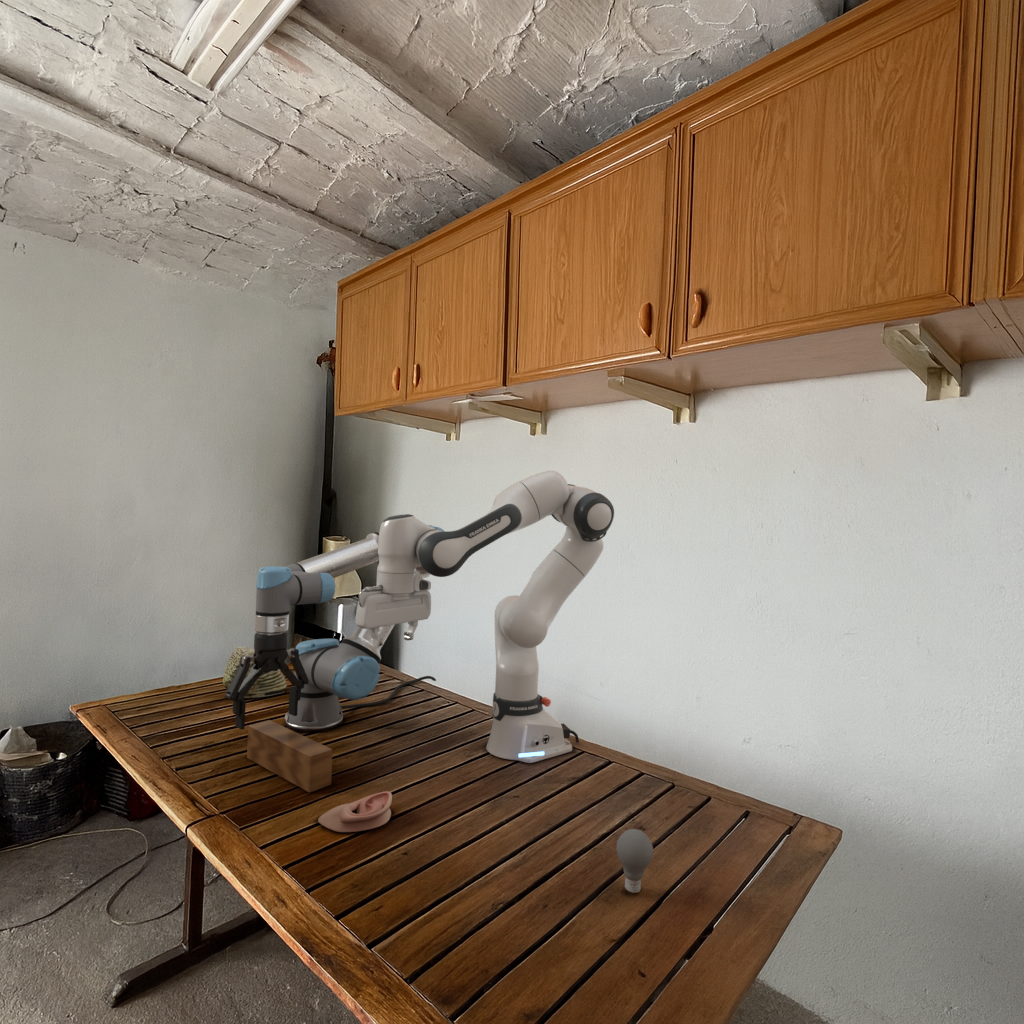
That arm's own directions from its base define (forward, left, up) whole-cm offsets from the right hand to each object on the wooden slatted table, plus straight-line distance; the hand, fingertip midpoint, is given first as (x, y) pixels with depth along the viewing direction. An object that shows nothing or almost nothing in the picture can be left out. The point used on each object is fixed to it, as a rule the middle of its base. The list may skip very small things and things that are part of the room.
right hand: (393, 642), depth 148 cm
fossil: (+23, -68, -30) cm, 78 cm away
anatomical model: (+13, +20, -30) cm, 38 cm away
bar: (+22, -8, -30) cm, 38 cm away
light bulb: (-24, +61, -30) cm, 72 cm away
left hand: (+25, -16, -21) cm, 36 cm away
